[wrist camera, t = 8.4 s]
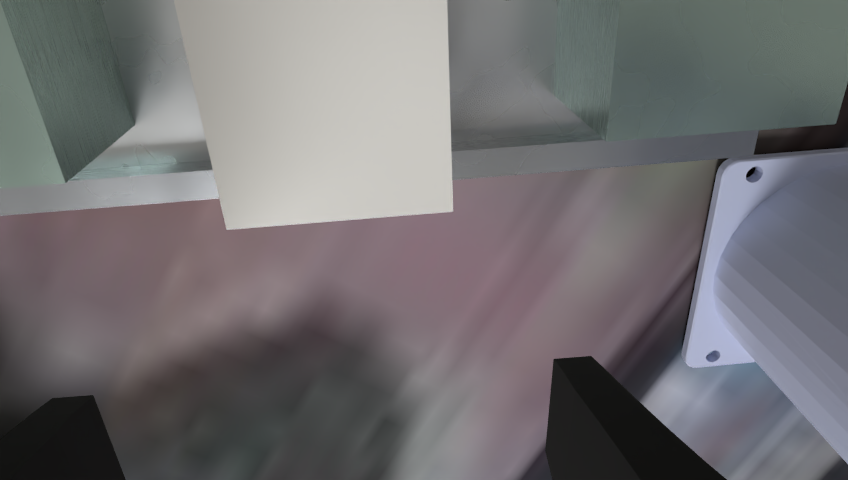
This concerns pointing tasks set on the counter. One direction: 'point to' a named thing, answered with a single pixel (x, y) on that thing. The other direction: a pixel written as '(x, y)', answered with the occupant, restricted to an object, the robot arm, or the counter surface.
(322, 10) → the block
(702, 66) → the din panel
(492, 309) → the counter surface
